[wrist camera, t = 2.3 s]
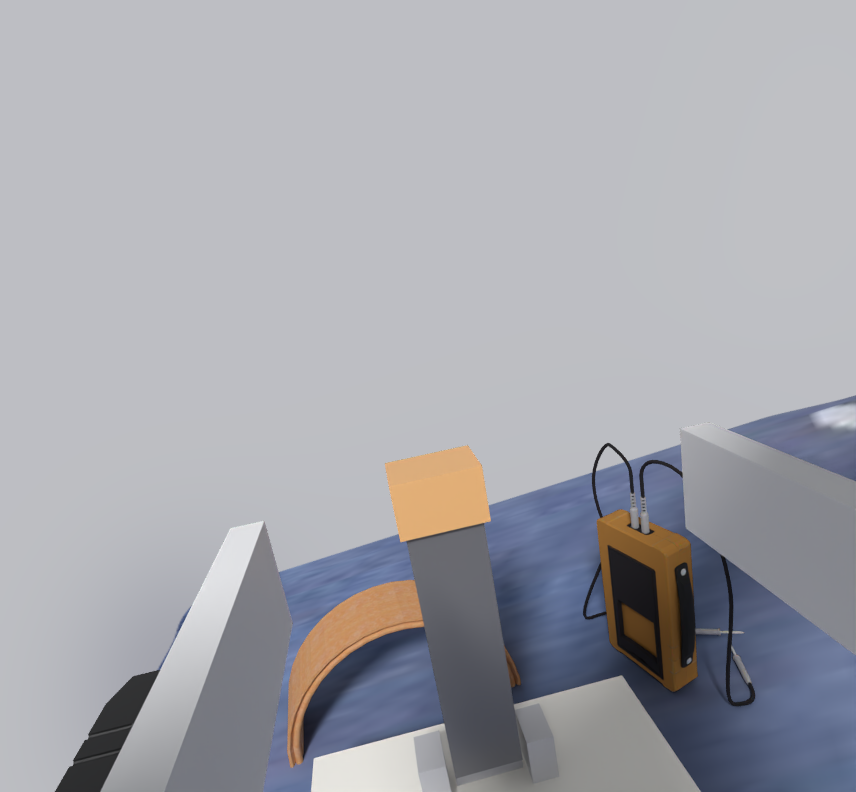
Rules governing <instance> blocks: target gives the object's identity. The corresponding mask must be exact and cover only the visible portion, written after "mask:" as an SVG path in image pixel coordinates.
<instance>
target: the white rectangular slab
mask: <svg viewBox="0 0 856 792" xmlns="http://www.w3.org/2000/svg"><path fill="white" fill-rule="evenodd" d="M514 709H515V715H516V721H517V727H518V734H519V740H520V746H521V752H522V758H523V760H522V762H523V768H520V769H516V770H513V771H509V772H505V773H502V774H498V775H495V776H491V777H488V778H484V779H481V780H477V781H474V782H470V783H467V784H463V785H459V786H457V782H456V778H455V773H454V768H453V763H452V758H451V753H450V749H449V744H448V739H447V734H446V729H445V724H444V723H443V724H439V725H436V726H432V727H428V728H425V729H421V730H417V731H413V732H410V733H406V734H402V735H399V736H395V737H391V738H387V739H384V740H380V741H376V742H373V743H369V744H365V745H362V746H358V747H354V748H350V749H347V750H343V751H339V752H336V753H332V754H328V755H324V756H321V757H317V758H314V763H313V776H312V788H311V792H701V791H700V790H699V788H698V787H697V785H696V784H695V782H694V781H693V779H692V778H691V776H690V775H689V774H688V772H687V771H686V769H685V768H684V766H683V765H682V763H681V762H680V760H679V759H678V757H677V756H676V754H675V753H674V751H673V750H672V748H671V747H670V745H669V744H668V743H667V741H666V740H665V738H664V737H663V735H662V734H661V732H660V731H659V729H658V728H657V726H656V725H655V723H654V722H653V720H652V719H651V717H650V716H649V715H648V713H647V712H646V710H645V709H644V707H643V706H642V704H641V703H640V701H639V700H638V698H637V697H636V695H635V694H634V692H633V691H632V689H631V688H630V687H629V685H628V684H627V682H626V681H625V679H624V678H623V676H622V675H621V676H617V677H614V678H610V679H606V680H602V681H599V682H595V683H591V684H588V685H584V686H580V687H577V688H573V689H569V690H565V691H562V692H558V693H554V694H551V695H547V696H543V697H539V698H536V699H532V700H528V701H525V702H521V703H517V704H514Z"/></svg>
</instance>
